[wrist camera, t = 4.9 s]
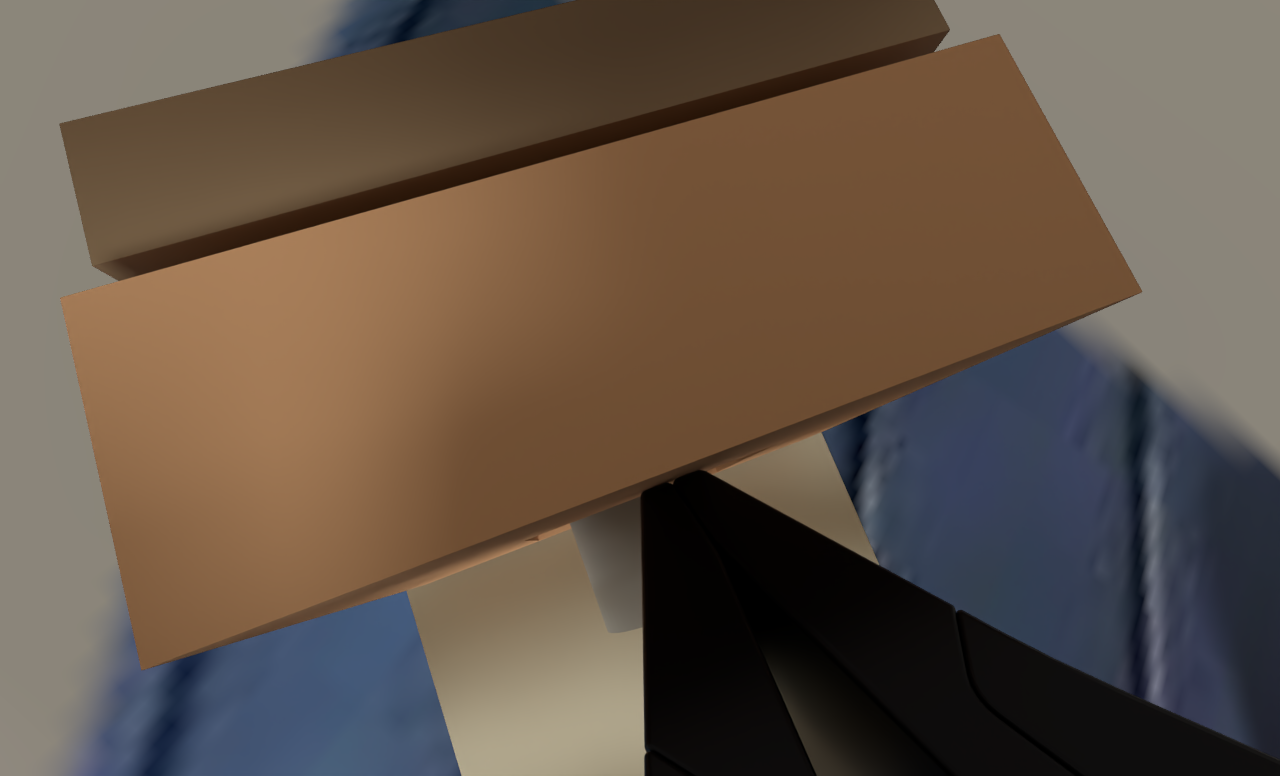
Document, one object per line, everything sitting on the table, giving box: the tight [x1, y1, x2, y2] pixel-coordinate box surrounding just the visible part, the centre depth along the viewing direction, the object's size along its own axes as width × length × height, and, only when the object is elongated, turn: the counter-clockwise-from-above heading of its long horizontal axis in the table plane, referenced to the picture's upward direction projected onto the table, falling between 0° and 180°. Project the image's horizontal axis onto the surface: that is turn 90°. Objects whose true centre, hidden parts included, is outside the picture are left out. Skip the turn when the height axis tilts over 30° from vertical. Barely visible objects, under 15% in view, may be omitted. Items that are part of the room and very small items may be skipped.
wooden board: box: [60, 34, 1142, 670], centre depth 10 cm, size 3×9×9 cm, turn 111°
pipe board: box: [60, 0, 950, 776], centre depth 11 cm, size 13×10×10 cm
